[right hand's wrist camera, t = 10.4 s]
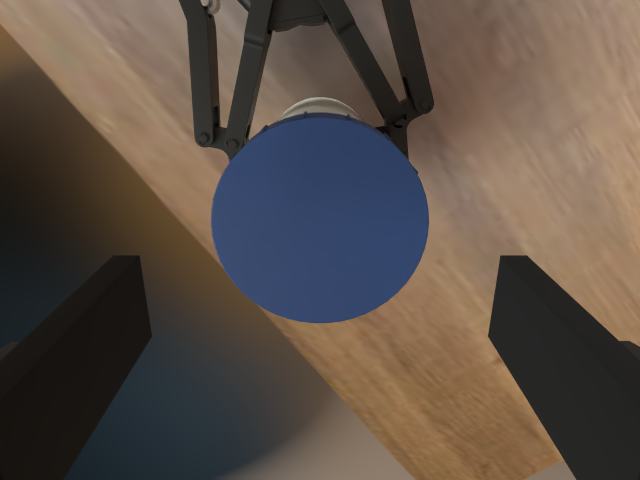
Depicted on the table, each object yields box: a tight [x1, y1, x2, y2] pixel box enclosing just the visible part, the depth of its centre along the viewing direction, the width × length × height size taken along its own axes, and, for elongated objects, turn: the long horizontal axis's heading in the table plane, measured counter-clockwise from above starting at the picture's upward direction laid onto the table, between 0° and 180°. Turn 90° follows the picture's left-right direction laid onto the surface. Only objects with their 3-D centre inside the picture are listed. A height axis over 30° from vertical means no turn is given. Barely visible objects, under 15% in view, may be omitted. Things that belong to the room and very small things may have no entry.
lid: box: [211, 111, 429, 323], centre depth 20 cm, size 9×9×2 cm
